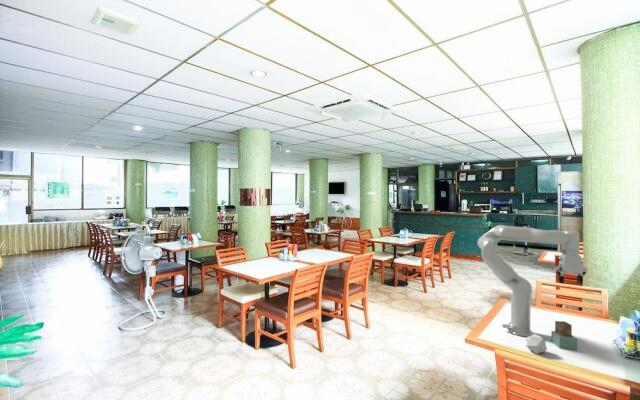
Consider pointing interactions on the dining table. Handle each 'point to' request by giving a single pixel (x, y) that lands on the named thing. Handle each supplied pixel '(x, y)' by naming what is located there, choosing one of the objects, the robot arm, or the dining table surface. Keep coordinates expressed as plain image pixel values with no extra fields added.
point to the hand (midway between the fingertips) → (570, 283)
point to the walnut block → (563, 328)
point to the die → (535, 344)
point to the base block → (564, 341)
